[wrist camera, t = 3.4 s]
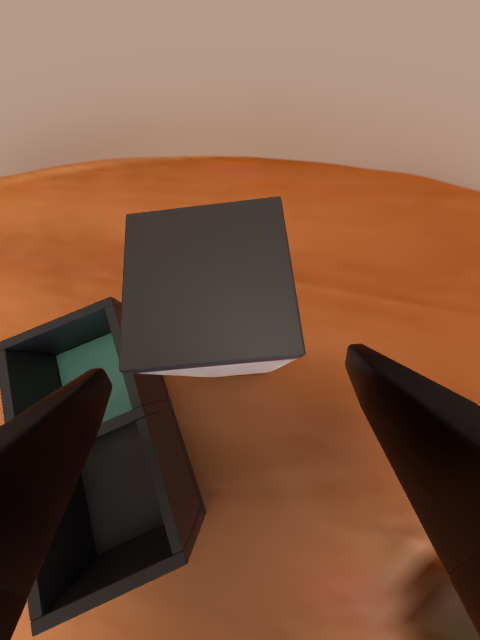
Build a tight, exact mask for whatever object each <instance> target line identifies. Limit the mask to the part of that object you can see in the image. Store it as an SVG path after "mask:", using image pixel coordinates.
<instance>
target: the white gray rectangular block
mask: <svg viewBox="0 0 480 640" xmlns="http://www.w3.org/2000/svg"><path fill="white" fill-rule="evenodd" d="M305 353H306V352H305V346H304V340H303V334H302V327H301V321H300V315H299V308H298V302H297V296H296V289H295V283H294V277H293V270H292V264H291V258H290V252H289V245H288V239H287V233H286V226H285V220H284V214H283V207H282V201H281V197H270V198H262V199H253V200H245V201H236V202H228V203H219V204H211V205H202V206H194V207H185V208H177V209H168V210H160V211H151V212H142V213H134V214H127V215H126V228H125V248H124V269H123V290H122V310H121V331H120V352H119V372H123V373H140V374H158V375H175V376H193V377H222V376H233V375H245V374H256V373H267V372H271V371H274V370H276V369H278V368H280V367H282V366H284V365H286V364H288V363H290V362H292V361H294V360H296V359H298V358H300V357H302V356H304V355H305Z"/></svg>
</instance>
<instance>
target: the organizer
mask: <svg viewBox="0 0 480 640" xmlns="http://www.w3.org/2000/svg"><path fill="white" fill-rule="evenodd" d="M121 310H122V303H121V302H119V301H117V300H115V299H114V298H112V297H109V298H106V299H104V300H101V301H99V302H97V303H94V304H92V305H89V306H87V307H84V308H82V309H79V310H77V311H75V312H72V313H70V314H67V315H65V316H62V317H60V318H57V319H55V320H52V321H50V322H48V323H45V324H43V325H40V326H38V327H35V328H33V329H30V330H28V331H26V332H23V333H21V334H18V335H16V336H13V337H11V338H8V339H6V340H4V341H1V342H0V390H1V398H2V405H3V413H4V421H5V423H6V422H8V421H9V420H11V419H13V418H14V417H16V416H17V415H19V414H20V413H22V412H24V411H25V410H27V409H28V408H30V407H31V406H33V405H35V404H36V403H38V402H39V401H41V400H42V399H44V398H46V397H47V396H49V395H50V394H52V393H53V392H55V391H57V390H58V389H60V388H61V387H63V386H64V385H66V384H67V383H69V382H71V381H72V380H74V379H75V378H77V377H78V376H80V375H82V374H83V373H85V372H86V371H88V370H90V369H94V368H103V369H104V370H105V372H106V374H107V375H108V377H109V379H110V381H111V383H112V392H111V395H110V398H109V401H108V404H107V408H106V411H105V414H104V417H103V421H102V424H101V426H100V429H99V432H98V434H97V437H96V439H95V442H94V444H93V446H92V449H91V451H90V453H89V456H88V458H87V460H86V463H85V465H84V467H83V470H82V472H81V474H80V477H79V479H78V482H77V484H76V486H75V489H74V491H73V493H72V496H71V498H70V500H69V503H68V505H67V507H66V510H65V512H64V514H63V517H62V519H61V522H60V524H59V526H58V529H57V531H56V533H55V536H54V538H53V540H52V543H51V545H50V547H49V550H48V552H47V554H46V557H45V559H44V562H43V564H42V566H41V569H40V571H39V573H38V576H37V578H36V580H35V583H34V585H33V587H32V590H31V592H30V594H29V597H28V598H27V600H28V608H29V616H30V621H31V630H32V636H35V635H38V634H40V633H42V632H44V631H46V630H48V629H50V628H52V627H55V626H57V625H59V624H61V623H63V622H65V621H67V620H69V619H72V618H74V617H76V616H78V615H80V614H82V613H84V612H86V611H89V610H91V609H93V608H95V607H97V606H99V605H101V604H103V603H106V602H108V601H110V600H112V599H114V598H116V597H118V596H120V595H123V594H125V593H127V592H129V591H131V590H133V589H135V588H137V587H139V586H142V585H144V584H146V583H148V582H150V581H152V580H154V579H156V578H159V577H161V576H163V575H165V574H167V573H169V572H171V571H173V570H176V569H178V568H180V567H182V566H184V565H186V564H187V563H188V560H189V557H190V555H191V552H192V549H193V547H194V544H195V541H196V538H197V536H198V533H199V530H200V527H201V525H202V522H203V519H204V516H205V514H206V511H205V508H204V505H203V502H202V498H201V495H200V492H199V489H198V486H197V483H196V480H195V477H194V473H193V470H192V467H191V464H190V461H189V458H188V455H187V451H186V448H185V445H184V442H183V439H182V436H181V433H180V430H179V426H178V423H177V420H176V417H175V414H174V411H173V408H172V405H171V401H170V398H169V395H168V392H167V389H166V386H165V383H164V380H163V376H162V375H158V374H140V373H123V372H119V352H120V331H121Z"/></svg>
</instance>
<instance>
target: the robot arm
mask: <svg viewBox="0 0 480 640" xmlns="http://www.w3.org/2000/svg"><path fill="white" fill-rule="evenodd" d="M345 365H346V369H347V372H348V375H349V377H350V380H351V383H352V385H353V388H354V390H355V393H356V396H357V398H358V401H359V403H360V406H361V408H362V410H363V412H364V414H365V416H366V418H367V420H368V422H369V424H370V426H371V427H372V429H373V431H374V433H375V435H376V437H377V439H378V441H379V443H380V445H381V447H382V449H383V451H384V453H385V455H386V456H387V458H388V460H389V462H390V464H391V466H392V468H393V470H394V472H395V474H396V476H397V478H398V480H399V482H400V484H401V485H402V487H403V489H404V491H405V493H406V495H407V497H408V499H409V501H410V503H411V505H412V507H413V509H414V511H415V512H416V514H417V516H418V518H419V520H420V522H421V524H422V526H423V528H424V530H425V532H426V534H427V536H428V538H429V540H430V541H431V543H432V545H433V547H434V549H435V551H436V553H437V555H438V557H439V559H440V561H441V563H442V565H443V567H444V568H445V570H446V572H447V574H448V575H449V579H450V581H451V582H452V584H453V586H454V588H455V590H456V592H457V594H458V596H459V598H460V600H461V602H462V604H463V606H464V608H465V609H466V611H467V613H468V615H469V617H470V619H471V621H472V623H473V625H474V627H475V629H476V631H477V633H478V635H479V637H480V406H478V405H477V404H476V403H474V402H472V401H470V400H468V399H466V398H465V397H463V396H461V395H459V394H457V393H455V392H453V391H451V390H449V389H447V388H445V387H443V386H442V385H440V384H438V383H436V382H434V381H432V380H430V379H428V378H426V377H424V376H422V375H420V374H419V373H417V372H415V371H413V370H411V369H409V368H407V367H405V366H403V365H401V364H399V363H398V362H396V361H394V360H392V359H390V358H388V357H386V356H384V355H382V354H380V353H378V352H376V351H375V350H373V349H371V348H369V347H367V346H365V345H363V344H351V345H349V346H348V349H347V355H346V361H345ZM111 392H112V383H111V381H110V379H109V377H108V375H107V374H106V372H105V370H104V369H103V368H94V369H90V370H88V371H86V372H85V373H83V374H82V375H80V376H78V377H77V378H75V379H74V380H72V381H71V382H69V383H67V384H66V385H64V386H63V387H61V388H60V389H58V390H57V391H55V392H53V393H52V394H50V395H49V396H47V397H46V398H44V399H42V400H41V401H39V402H38V403H36V404H35V405H33V406H31V407H30V408H28V409H27V410H25V411H24V412H22V413H20V414H19V415H17V416H16V417H14V418H13V419H11V420H9V421H8V422H6V423H5V424H3V425H2V426H0V640H11V637H12V635H13V633H14V630H15V628H16V626H17V623H18V621H19V619H20V616H21V614H22V611H23V609H24V607H25V604H26V602H27V598H28V597H29V594H30V592H31V590H32V587H33V585H34V583H35V580H36V578H37V576H38V573H39V571H40V569H41V566H42V564H43V562H44V559H45V557H46V554H47V552H48V550H49V547H50V545H51V543H52V540H53V538H54V536H55V533H56V531H57V529H58V526H59V524H60V522H61V519H62V517H63V514H64V512H65V510H66V507H67V505H68V503H69V500H70V498H71V496H72V493H73V491H74V489H75V486H76V484H77V482H78V479H79V477H80V474H81V472H82V470H83V467H84V465H85V463H86V460H87V458H88V456H89V453H90V451H91V449H92V446H93V444H94V442H95V439H96V437H97V434H98V432H99V429H100V426H101V424H102V421H103V417H104V414H105V411H106V408H107V404H108V401H109V398H110V395H111Z"/></svg>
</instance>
